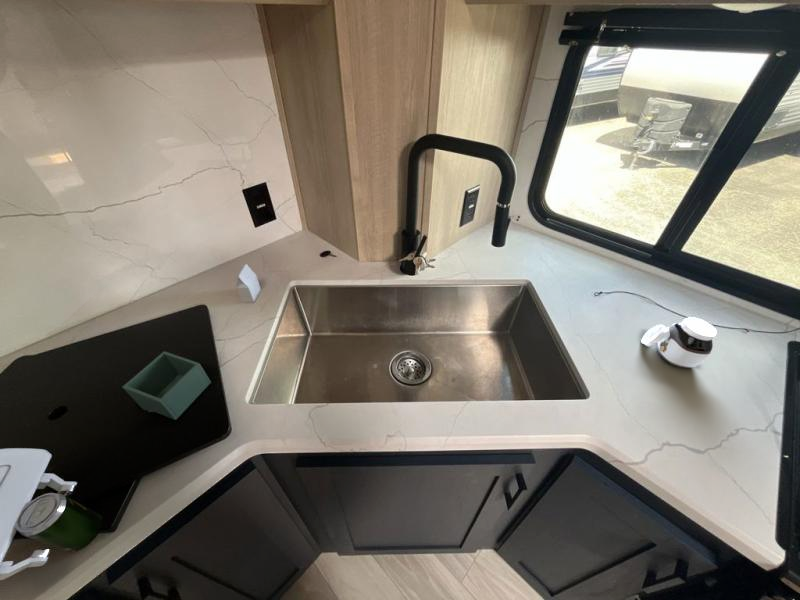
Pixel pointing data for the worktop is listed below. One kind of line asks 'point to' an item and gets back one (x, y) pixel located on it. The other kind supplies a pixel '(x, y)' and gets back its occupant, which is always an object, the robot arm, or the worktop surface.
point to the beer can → (59, 522)
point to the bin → (168, 385)
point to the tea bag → (247, 285)
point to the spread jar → (682, 341)
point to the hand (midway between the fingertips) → (61, 520)
